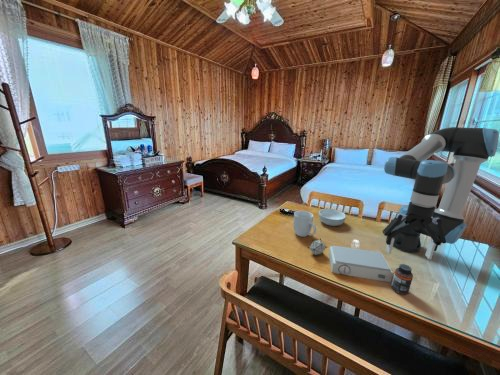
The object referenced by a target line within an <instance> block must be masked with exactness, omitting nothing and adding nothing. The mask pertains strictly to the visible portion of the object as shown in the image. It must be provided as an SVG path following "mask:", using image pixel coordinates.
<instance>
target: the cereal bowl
mask: <svg viewBox="0 0 500 375" xmlns="http://www.w3.org/2000/svg"><path fill="white" fill-rule="evenodd" d="M346 217H347V216H346V214H345V213H344V212H343V211H341V210H338V209H336V208H335V209H334V208H322V209H320V210H319V211H318V218H319V220H320V221H321V222H322V223H323V224H325V225H326V226H332V227H335V226H340V225H343V223H344V222H345V221H346Z"/></svg>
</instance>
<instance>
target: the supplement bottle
mask: <svg viewBox="0 0 500 375" xmlns="http://www.w3.org/2000/svg"><path fill="white" fill-rule="evenodd" d="M412 269H413V268H412V267H411V266H410V265H408V264H405V263H400V264H399V266H398V267H396V269H395V271H394V272H393V276H392V280H391V289H392V290H393V291H394V292H395V293H397V294H399V295H402V296H404V295H405V296H406V295H408V294H409V292H410V288H411V285H412V281H413V278H414V274H413V273H412Z"/></svg>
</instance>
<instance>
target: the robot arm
mask: <svg viewBox="0 0 500 375" xmlns="http://www.w3.org/2000/svg"><path fill="white" fill-rule="evenodd" d="M499 138H500V134H499V131H498V130H497V129H495V128H486V127H459V126H458V127H457V126H456V127H455V126H452V127H446V128H445V127H444V128H440V129H438V130H435V131H432V132H430V133H429V134H426V136H425V135H424V137H423V138H422V139H421V141H420V143H418V144H417V145H415V146H413V147H412V148H411V149H410V150H408V151H407V152H406V153H404V154H402V155H401V156H400V157H398V156H391V157H389V158H387V159H386V160H385V163H384V167H383V169H384V170H383V171H384V173H385V174H387V175H391V176H393V177H401V178H404V179H410V180H413V181H414V184H413V188H412V191H411V195H410V198H409V200H410V201H409V203H408V204H406V205H405V204H404V205H402V206H400V208H399V211H398V212H396V213H395V217H393V219H392V220H391V221H390V222H389V223H388V224H387V226H385V228H384V229H383V230H382V233H383V235H384V236H385V237H386V239H385V244H386V248H385V249H386V252H387V253H388V254H392V250H393V248H395V249H397V250H399V251H403V252H406V253H413V254H414V253H415V254H416V253H418V252H420V251H421V248H422V243H421V235H425V236H427V237H430V238H431V240H429V243H428V245H427V247H426V252H425V254H424V255H425V257H426V258H427V259H428V260H432V257H433V255H434V253H435V252H437V250H438V247H439V246H441V245H442V244H449V245H452V244H455V243H457V242H458V241H459V239H460V238H461V236H463V234H464V232H465V230H466V228H467V226H468V224H467V223H466V222H465V217H464V216H463V211H464V209H465V205H466V204H467V201H468V198H469V195H470V192H471V190H472V188H473V185H474V184H475V183H474V182H475V180H476V177H477V175H478V173H479V170H480V167H481V165H482V164H483V163H485V162H487V161H488V160H489V158H491V157H495V155H496V152H497V150H498V145H499V140H500V139H499ZM440 152H446V153H447V152H448V153H453V155H452V157H453V159H454V160H455V161H454V164H453V165H452V164H450V163H447V162H445V161H442V160H431V159H429V158H430V157H432V156H433V155H435V154H438V153H440ZM444 184H446V186H445V189H444V190H443V194H442V197H441V200H440V203H439V205H438V208H436V206H437V204H438V200H439V198H440V193H441V189H442V187H443V185H444Z"/></svg>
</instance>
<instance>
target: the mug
mask: <svg viewBox="0 0 500 375" xmlns="http://www.w3.org/2000/svg"><path fill="white" fill-rule="evenodd" d="M312 228H313V232H312V233H311V231H312ZM293 229H294V232H295V234H296V236H298V237H303V238H304V237H307V236H314V235H315V234H316V232H317V226H316V224H315V223H314V214H313V213H311V212H309V211H307V210H297V211H294V213H293Z"/></svg>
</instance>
